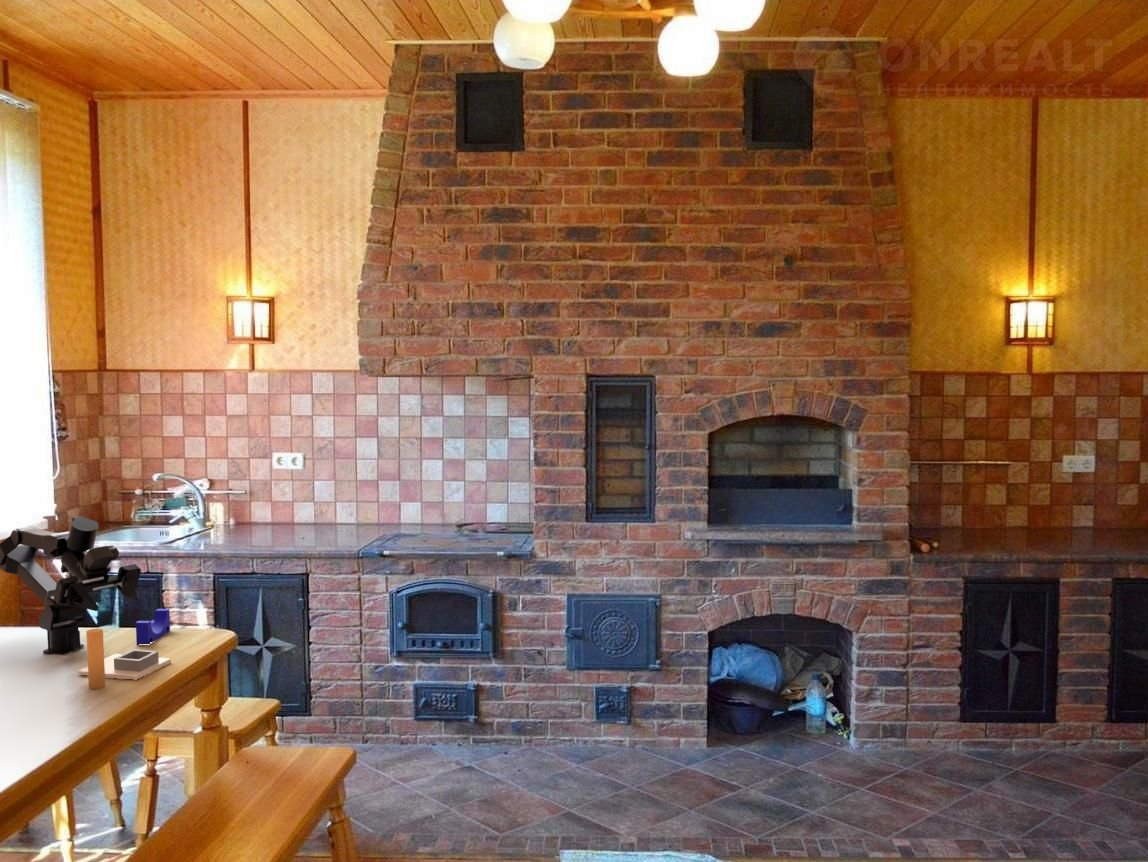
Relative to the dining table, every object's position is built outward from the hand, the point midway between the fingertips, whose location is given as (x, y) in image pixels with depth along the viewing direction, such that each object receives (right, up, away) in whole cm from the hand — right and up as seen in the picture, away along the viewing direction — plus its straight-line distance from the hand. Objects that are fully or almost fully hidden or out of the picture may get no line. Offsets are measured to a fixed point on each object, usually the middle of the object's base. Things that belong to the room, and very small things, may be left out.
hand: (117, 604), depth 211 cm
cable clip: (-4, -14, +25) cm, 29 cm away
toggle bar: (0, -16, -9) cm, 18 cm away
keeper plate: (+1, -15, +2) cm, 16 cm away
